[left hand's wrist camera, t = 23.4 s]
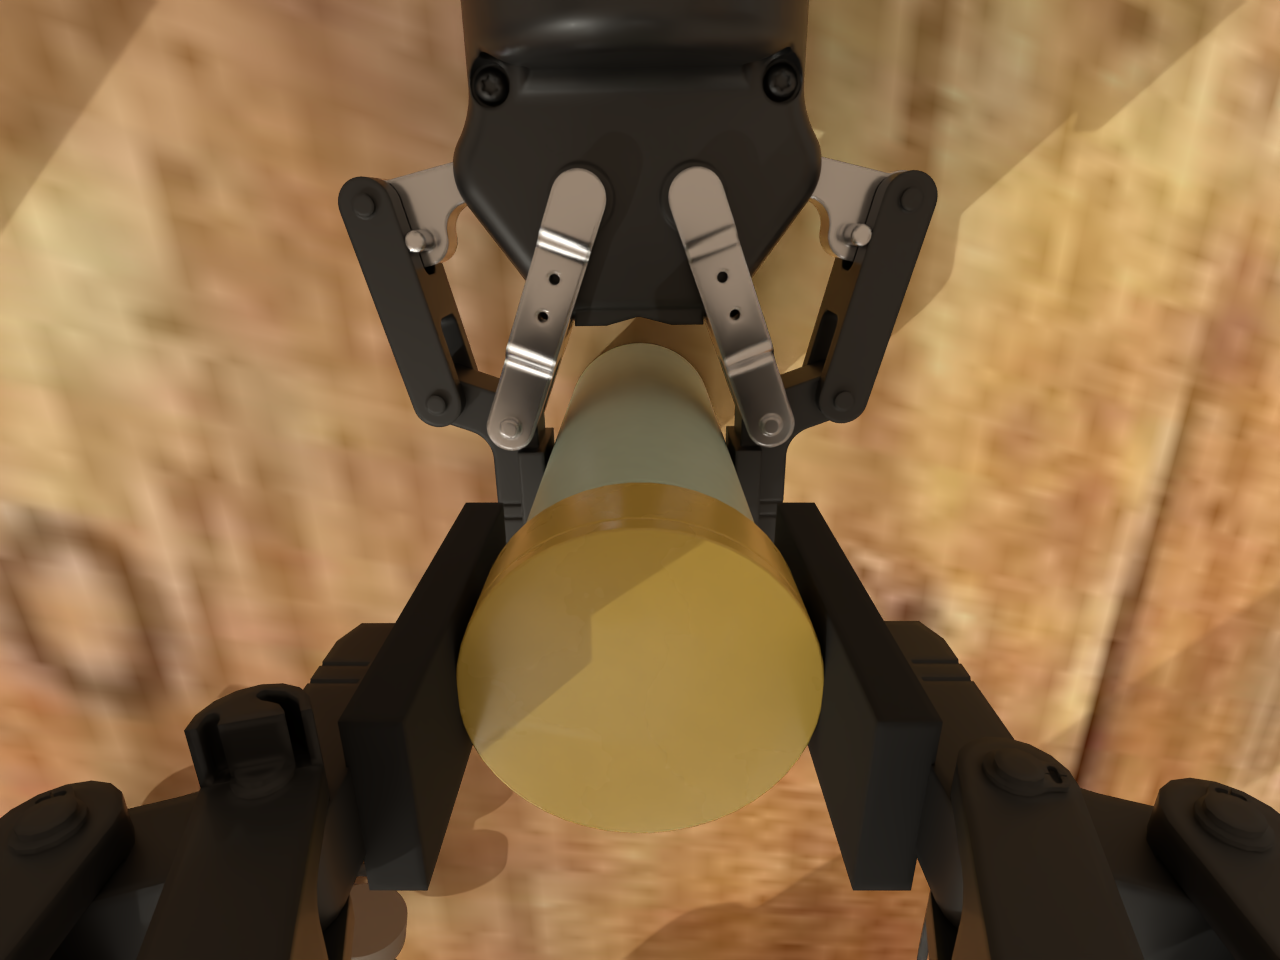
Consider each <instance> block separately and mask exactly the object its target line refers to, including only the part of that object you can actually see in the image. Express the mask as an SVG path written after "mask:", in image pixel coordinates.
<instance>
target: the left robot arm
mask: <svg viewBox="0 0 1280 960" xmlns="http://www.w3.org/2000/svg"><path fill="white" fill-rule="evenodd" d="M505 545H506V533H505V519H504V506H503V503H466V504H465V505H464V507H463V509H462V510H461V512H460V514H459V516H458V517H457V519H456V521H455V522H454V524H453V526H452V527H451V529H450V531H449V533H448V534H447V536H446V538H445V539H444V541H443V543H442V545H441V546H440V548H439V550H438V551H437V553H436V555H435V556H434V558H433V560H432V562H431V563H430V565H429V567H428V568H427V570H426V572H425V573H424V575H423V577H422V579H421V580H420V582H419V584H418V585H417V587H416V589H415V591H414V592H413V594H412V596H411V597H410V599H409V601H408V602H407V604H406V606H405V608H404V609H403V611H402V613H401V614H400V616H399V618H398V620H397V621H396V623H362V624H360V625H359V626H357V627H356V628H355V629H353V630H352V631H350V632H349V633H348V634H346V635H345V636H343V637H342V638H341V639H339V640H338V641H337V642H336V643H335V645H334V646H333V648H332V649H331V650H330V652H329V653H328V655H327V656H326V658H325V659H324V661H323V664H322V666H319V668H318V669H317V671H316V672H315V673H314V675H313V676H312V678H311V682H310V684H307V685H306V686H305V688H304V689H303V690H302V689H301V688H300V687H296V686H291V685H287V684H283V683H282V684H262V685H257V686H253V687H250V688H246V689H242V690H238V691H236V692H233V693H231V694H229V695H227V696H225V697H223V698H220V699H218V700H216V701H214V702H213V703H211V704H210V705H209V706H207V707H206V708H205V709H203V710H202V711H201V712H199V713H198V714H197V715H195V717H194V718H193V719H192V721H191V722H190V723H189V725H188V726H187V727H186V729H185V730H184V732H185V735H186V739H187V742H188V746H189V749H190V753H191V756H192V760H193V763H194V767H195V770H196V773H197V777H198V780H199V784H200V787H201V788H200V791H198V792H195V793H192V794H188V795H185V796H182V797H177V798H173V799H169V800H164V801H160V802H156V803H152V804H147V805H143V806H139V807H134V808H130V809H127V806H126V803H125V800H124V797H123V794H122V792H121V791H120V790H119V789H117V788H116V787H115V786H114V785H112V784H111V783H105V782H98V781H86V782H80V783H74V784H67V785H64V786H61V787H58V788H56V789H53V790H50V791H47V792H44V793H42V794H39V795H37V796H35V797H33V798H31V799H30V800H28V801H26V802H24V803H22V804H21V805H19V806H17V807H15V808H13V809H12V810H10V811H9V812H8V813H6V814H5V815H4V816H3V817H1V818H0V960H351V955H352V944H353V933H354V922H355V917H354V911H353V904H352V899H351V894H350V891H351V889H352V887H353V884H354V882H355V880H356V877H357V875H358V872H359V870H360V868H361V865H362V863H363V861H364V864H365V869H366V874H367V879H368V885H369V890H428V887H429V884H430V881H431V877H432V874H433V871H434V868H435V865H436V861H437V858H438V855H439V852H440V848H441V845H442V842H443V839H444V836H445V832H446V829H447V826H448V823H449V819H450V816H451V813H452V810H453V807H454V803H455V800H456V797H457V794H458V790H459V787H460V784H461V781H462V778H463V774H464V771H465V768H466V765H467V761H468V758H469V755H470V752H471V749H472V745H473V744H472V742H471V740H470V738H469V735H468V733H467V731H466V729H465V726H464V724H463V720H462V717H461V713H460V707H459V699H458V690H457V680H456V664H457V659H458V654H459V649H460V645H461V642H462V639H463V636H464V634H465V631H466V628H467V626H468V623H469V621H470V618H471V616H472V614H473V611H474V609H475V606H476V604H477V601H478V599H479V597H480V594H481V592H482V589H483V587H484V584H485V582H486V580H487V577H488V575H489V572H490V570H491V568H492V566H493V564H494V563H495V561H496V559H497V557H498V555H499V554H500V552H501V551H502V549H503V548H504V547H505ZM774 545H775V546H776V547H777V549H778V550H779V551H780V553H781V555H782V556H783V558H784V560H785V562H786V563H787V565H788V567H789V569H790V571H791V574H792V576H793V579H794V581H795V583H796V586H797V588H798V591H799V593H800V596H801V598H802V600H803V603H804V605H805V608H806V610H807V613H808V615H809V618H810V620H811V622H812V625H813V628H814V630H815V633H816V635H817V638H818V641H819V643H820V648H821V652H822V657H823V662H824V686H823V695H822V704H821V711H820V715H819V719H818V722H817V725H816V727H815V730H814V732H813V734H812V737H811V739H810V741H809V743H808V747H809V750H810V754H811V757H812V760H813V763H814V767H815V770H816V773H817V776H818V779H819V783H820V786H821V789H822V792H823V796H824V799H825V802H826V805H827V808H828V812H829V815H830V818H831V821H832V825H833V828H834V831H835V834H836V837H837V841H838V844H839V847H840V850H841V854H842V857H843V860H844V863H845V866H846V870H847V873H848V876H849V879H850V883H851V886H852V889H853V890H911V887H912V882H913V876H914V871H915V866H916V861H917V859H918V861H919V863H920V866H921V868H922V870H923V873H924V875H925V877H926V880H927V882H928V884H929V887H930V894H929V899H928V904H927V909H926V914H925V919H924V924H923V929H922V933H921V938H920V943H919V949H918V956H917V960H927V956H928V953H929V960H1280V814H1279V813H1278V812H1277V811H1275V810H1274V809H1273V808H1272V807H1270V806H1268V805H1266V804H1265V803H1263V802H1261V801H1259V800H1257V799H1256V798H1254V797H1252V796H1250V795H1248V794H1246V793H1245V792H1242V791H1240V790H1237V789H1234V788H1232V787H1228V786H1226V785H1223V784H1220V783H1217V782H1213V781H1207V780H1201V779H1194V778H1185V779H1178V780H1171V781H1169V782H1168V783H1167V784H1166V785H1164V786H1163V787H1162V788H1161V789H1160V790H1159V793H1158V796H1157V799H1156V802H1155V805H1154V806H1150V805H1146V804H1141V803H1137V802H1133V801H1128V800H1124V799H1120V798H1115V797H1111V796H1107V795H1102V794H1098V793H1095V792H1092V791H1088V790H1085V789H1082V788H1080V787H1079V785H1078V784H1077V782H1076V781H1075V779H1074V778H1073V776H1072V775H1071V773H1070V771H1069V770H1068V769H1066V768H1065V767H1064V766H1063V765H1062V764H1060V763H1059V762H1058V761H1057V760H1056V759H1055V758H1053V757H1052V756H1051V755H1049V754H1047V753H1045V752H1043V751H1041V750H1039V749H1037V748H1036V747H1034V746H1032V745H1030V744H1027V743H1023V742H1020V741H1016V740H1014V738H1013V737H1012V735H1011V734H1010V733H1009V731H1008V730H1007V728H1006V727H1005V725H1004V724H1003V723H1002V721H1001V720H1000V718H999V717H998V715H997V714H996V713H995V711H994V710H993V708H992V707H991V705H990V704H989V703H988V701H987V700H986V698H985V697H984V696H983V694H982V693H981V691H980V690H979V688H978V687H977V686H976V684H975V683H974V681H971V680H970V676H969V674H968V673H967V671H966V670H965V668H964V667H963V666H962V664H959V663H958V658H957V657H956V656H955V654H954V653H953V651H952V650H951V648H950V647H949V646H948V644H947V643H946V641H945V640H944V639H943V638H942V637H940V636H939V635H938V634H936V633H935V632H933V631H932V630H931V629H929V628H928V627H926V626H925V625H924V624H922V623H921V622H919V621H884V620H883V619H882V617H881V615H880V614H879V612H878V610H877V609H876V607H875V605H874V603H873V602H872V600H871V598H870V597H869V595H868V593H867V591H866V590H865V588H864V586H863V585H862V583H861V581H860V580H859V578H858V576H857V574H856V573H855V571H854V569H853V568H852V566H851V564H850V562H849V561H848V559H847V557H846V556H845V554H844V552H843V551H842V549H841V547H840V545H839V544H838V542H837V540H836V539H835V537H834V535H833V534H832V532H831V530H830V528H829V527H828V525H827V523H826V522H825V520H824V518H823V516H822V515H821V513H820V511H819V510H818V508H817V506H816V505H815V503H777V512H776V525H775V538H774Z"/></svg>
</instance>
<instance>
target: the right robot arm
mask: <svg viewBox="0 0 1280 960" xmlns="http://www.w3.org/2000/svg"><path fill="white" fill-rule="evenodd" d="M808 6H809V0H461V8H462V19H463V31H464V42H465V53H466V65H467V76H468V87H469V105H468V112H467V117H466V122H465V125H464V128H463V131H462V134H461V136H460V138H459V140H458V143H457V145H456V148H455V152H454V157H453V162H452V163H448V164H444V165H441V166H437V167H434V168H430V169H427V170H423V171H419V172H416V173H412V174H409V175H405V176H401V177H398V178H394V179H391V180H389V179H380V178H371V177H355V178H352V179H350V180H348V181H347V182H346V183H345V184H344V185H343V186H342V188H341V190H340V193H339V197H338V205H339V210H340V213H341V216H342V218H343V221H344V224H345V226H346V229H347V232H348V234H349V237H350V240H351V242H352V245H353V248H354V250H355V253H356V256H357V258H358V261H359V264H360V266H361V269H362V272H363V274H364V277H365V280H366V282H367V285H368V288H369V290H370V293H371V296H372V298H373V301H374V304H375V306H376V309H377V312H378V314H379V317H380V320H381V322H382V325H383V328H384V330H385V333H386V336H387V338H388V341H389V344H390V346H391V349H392V352H393V354H394V357H395V360H396V362H397V365H398V368H399V370H400V373H401V376H402V378H403V381H404V384H405V386H406V389H407V392H408V394H409V397H410V400H411V402H412V405H413V408H414V410H415V412H416V414H417V415H418V417H419V418H420V419H421V420H422V421H423V422H425V423H426V424H428V425H431V426H435V427H444V426H448V425H453V426H456V427H460V428H463V429H466V430H469V431H472V432H474V433H476V434H478V435H480V436H481V437H482V438H484V439H485V440H486V441H487V443H488V444H489V445H490V447H491V449H492V452H493V455H494V463H495V474H496V485H497V496H498V503H503V506H504V519H505V533H506V544H507V543H508V542H509V540H510V539H511V538H512V536H513V535H514V534H515V533H516V532H517V531H519V530H520V529H521V528H522V527H523V526H524V525H525V524H526V522H527V519H528V517H529V514H530V511H531V508H532V506H533V503H534V500H535V497H536V494H537V492H538V489H539V486H540V483H541V481H542V478H543V475H544V472H545V469H546V467H547V464H548V461H549V458H550V456H551V453H552V450H553V447H554V428H545V417H544V412H545V410H546V406H547V403H548V400H549V397H550V394H551V391H552V388H553V385H554V382H555V379H556V375H557V372H558V369H559V366H560V363H561V360H562V357H563V354H564V351H565V349H566V346H567V343H568V340H569V337H570V334H571V331H572V328H573V325H574V322H575V326H607V325H611V324H614V323H618V322H621V321H625V320H628V319H632V318H635V317H644V318H647V319H651V320H655V321H659V322H663V323H667V324H671V325H693V324H703V319H704V320H705V323H706V326H707V329H708V331H709V334H710V337H711V340H712V342H713V345H714V348H715V350H716V353H717V355H718V358H719V361H720V364H721V367H722V370H723V372H724V375H725V378H726V381H727V384H728V387H729V389H730V392H731V395H732V398H733V401H734V404H735V424H734V426H726V445H727V448H728V451H729V454H730V457H731V459H732V462H733V465H734V468H735V470H736V473H737V476H738V479H739V482H740V484H741V487H742V490H743V493H744V496H745V498H746V501H747V504H748V507H749V509H750V512H751V515H752V518H753V521H754V523H755V524H756V525H757V526H758V527H759V528H760V529H761V530H762V531H763V532H764V533H765V534H766V535H767V536H768V537H769V538H770V540H771V541H772V542H773V544H774V538H775V525H776V512H777V503H783V495H784V480H785V464H786V452H787V448H788V446H789V444H790V442H791V441H792V439H793V438H794V437H795V436H796V435H797V434H798V433H799V432H801V431H803V430H804V429H807V428H809V427H812V426H815V425H818V424H821V423H823V422H826V421H829V420H830V421H832V422H835V423H847V422H850V421H853V420H854V419H856V418H857V417H859V416H860V415H861V414H862V412H863V411H864V409H865V407H866V405H867V402H868V399H869V396H870V394H871V391H872V388H873V385H874V382H875V379H876V376H877V373H878V370H879V368H880V365H881V362H882V359H883V356H884V353H885V350H886V347H887V345H888V342H889V339H890V336H891V333H892V330H893V327H894V324H895V321H896V319H897V316H898V313H899V310H900V307H901V304H902V301H903V298H904V295H905V293H906V290H907V287H908V284H909V281H910V278H911V275H912V272H913V269H914V267H915V264H916V261H917V258H918V255H919V252H920V249H921V246H922V244H923V241H924V238H925V235H926V232H927V229H928V226H929V223H930V220H931V218H932V215H933V212H934V209H935V206H936V202H937V188H936V185H935V182H934V181H933V179H932V178H931V177H930V176H929V175H928V174H926V173H924V172H922V171H918V170H911V171H907V170H900V171H893V172H881V171H877V170H873V169H869V168H865V167H861V166H857V165H853V164H849V163H845V162H841V161H837V160H833V159H829V158H824V157H821V150H820V146H819V142H818V140H817V138H816V135H815V133H814V131H813V129H812V127H811V124H810V122H809V119H808V115H807V111H806V107H805V101H804V72H805V55H806V38H807V22H808ZM808 201H810V202H811V203H812V204H813V205H814V206H815V207H816V208H817V210H818V212H819V215H820V220H821V226H820V233H819V238H820V243H821V246H822V247H823V249H824V250H825V251H826V252H827V253H828V254H829V255H831V256H833V257H836V258H835V261H834V265H833V268H832V271H831V274H830V278H829V281H828V284H827V287H826V291H825V294H824V297H823V301H822V304H821V307H820V310H819V314H818V317H817V320H816V323H815V327H814V330H813V333H812V336H811V340H810V343H809V346H808V349H807V353H806V356H805V359H804V362H803V366H802V367H801V368H798V369H795V370H793V371H790V372H787V373H784V374H782V375H780V373H779V370H778V367H777V364H776V361H775V357H774V350H773V345H772V341H771V338H770V335H769V332H768V329H767V326H766V322H765V319H764V316H763V313H762V310H761V307H760V304H759V301H758V298H757V295H756V291H755V288H754V285H753V282H752V279H751V278H752V276H753V275H754V274H755V272H756V271H757V270H758V268H759V267H760V266H761V264H762V263H763V261H764V260H765V259H766V257H767V256H768V255H769V253H770V252H771V251H772V249H773V248H774V247H775V245H776V244H777V242H778V241H779V240H780V238H781V237H782V236H783V234H784V233H785V232H786V230H787V229H788V228H789V226H790V225H791V223H792V222H793V221H794V219H795V218H796V217H797V215H798V214H799V213H800V211H801V210H802V209H803V207H804V206H805V204H806V203H807V202H808ZM466 206H468V207H469V208H470V210H471V211H472V212H473V213H474V215H475V216H476V217H477V219H478V220H479V221H480V222H481V224H482V225H483V226H484V228H485V229H486V230H487V231H488V233H489V234H490V235H491V237H492V238H493V239H494V240H495V242H496V243H497V244H498V246H499V247H500V248H501V249H502V251H503V252H504V253H505V255H506V256H507V257H508V258H509V260H510V261H511V262H512V264H513V265H514V266H515V267H516V269H517V270H518V271H519V273H520V274H521V275H522V276H523V278H524V279H525V280H526V282H525V286H524V289H523V293H522V296H521V299H520V303H519V306H518V310H517V313H516V317H515V320H514V323H513V327H512V330H511V334H510V337H509V341H508V344H507V348H506V358H505V363H504V366H503V370H502V373H501V376H500V378H497V377H494V376H491V375H488V374H485V373H482V372H479V371H478V369H477V366H476V363H475V360H474V357H473V354H472V351H471V348H470V345H469V342H468V339H467V336H466V333H465V330H464V327H463V324H462V321H461V318H460V315H459V312H458V309H457V306H456V303H455V300H454V297H453V294H452V291H451V288H450V285H449V282H448V279H447V276H446V273H445V270H444V267H443V264H442V263H443V262H445V261H447V260H449V259H450V258H451V257H452V256H453V254H454V253H455V251H456V248H457V243H458V241H457V233H456V221H457V218H458V216H459V214H460V212H461V211H462V210H463V209H464V208H465V207H466Z"/></svg>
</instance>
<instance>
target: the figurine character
mask: <svg viewBox="0 0 1280 960" xmlns="http://www.w3.org/2000/svg"><path fill="white" fill-rule="evenodd" d="M357 876H367V874H366V869H365V864H362V865H361V868H360V870H359V872H358V875H357ZM350 894H351V899H352V904H353V911H354V917H355V922H354V933H353V944H352V955H351V960H396V959H395V958H396V957H397V956H398V954H399V953H400V951H401V949H402V947H403V945H404V942H405V937H406V925H407V907H406V904H405V901H404V899H403V898H402V897H401V895H400V894H399V893H398V892H396V891H395V890H369V885H368V883H364V884H357V885H353V887H352V889H351V891H350Z"/></svg>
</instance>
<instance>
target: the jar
mask: <svg viewBox="0 0 1280 960" xmlns="http://www.w3.org/2000/svg"><path fill="white" fill-rule="evenodd" d="M622 483H659V484H667V485H674V486H679V487H683V488H687V489H691V490H695V491H698V492H700V493H703V494H705V495H708V496H711V497H713V498H716V499H718V500H720V501H721V502H723V503H725V504H727V505H729V506H731V507H733V508H734V509H736V510H737V511H739V512H740V513H742V514H743V515H744V516H746V517H747V518H748V519H750V520H751V521H753V518H752V515H751V512H750V509H749V507H748V504H747V501H746V498H745V496H744V493H743V490H742V487H741V484H740V482H739V479H738V476H737V473H736V470H735V468H734V465H733V462H732V459H731V457H730V454H729V451H728V448H727V445H726V443H725V440H724V437H723V434H722V432H721V429H720V426H719V423H718V420H717V418H716V415H715V412H714V409H713V407H712V404H711V401H710V398H709V395H708V393H707V390H706V387H705V385H704V383H703V380H702V379H701V377H700V375H699V374H698V372H697V371H696V370H695V368H694V367H693V366H692V365H691V364H690V363H689V362H688V361H687V360H686V359H685V358H683V357H682V356H680V355H679V354H678V353H676V352H674V351H672V350H670V349H668V348H665V347H662V346H659V345H654V344H648V343H632V344H626V345H622V346H619V347H616V348H613V349H611V350H609V351H607V352H605V353H603V354H602V355H600V356H599V357H597V358H596V359H595V360H594V361H593V362H591V363H590V365H589V366H588V367H587V368H586V369H585V370H584V372H583V373H582V375H581V376H580V378H579V380H578V382H577V384H576V386H575V389H574V392H573V394H572V397H571V400H570V403H569V406H568V408H567V411H566V414H565V417H564V419H563V422H562V425H561V428H560V431H559V433H558V436H557V439H556V442H555V444H554V447H553V450H552V453H551V456H550V458H549V461H548V464H547V467H546V469H545V472H544V475H543V478H542V481H541V483H540V486H539V489H538V492H537V494H536V497H535V500H534V503H533V506H532V508H531V511H530V514H529V517H528V519H527V522H528V521H529V520H531V519H532V518H533V517H535V516H536V515H537V514H539V513H540V512H542V511H543V510H544V509H546V508H548V507H550V506H552V505H553V504H555V503H557V502H559V501H561V500H563V499H565V498H567V497H570V496H572V495H575V494H578V493H580V492H583V491H586V490H590V489H594V488H598V487H602V486H606V485H614V484H622ZM527 522H526V523H527ZM753 522H754V521H753Z"/></svg>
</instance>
